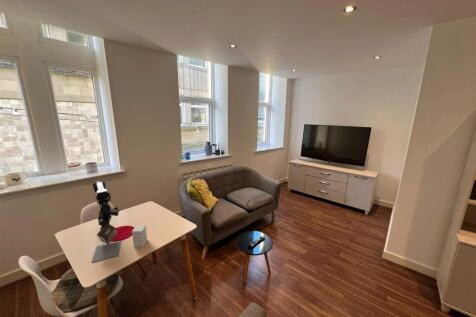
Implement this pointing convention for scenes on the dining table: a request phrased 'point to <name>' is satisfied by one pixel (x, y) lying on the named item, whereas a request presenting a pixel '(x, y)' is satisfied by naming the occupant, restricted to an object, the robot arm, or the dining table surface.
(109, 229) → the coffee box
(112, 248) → the mat
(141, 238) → the supplement box
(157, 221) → the dining table surface
